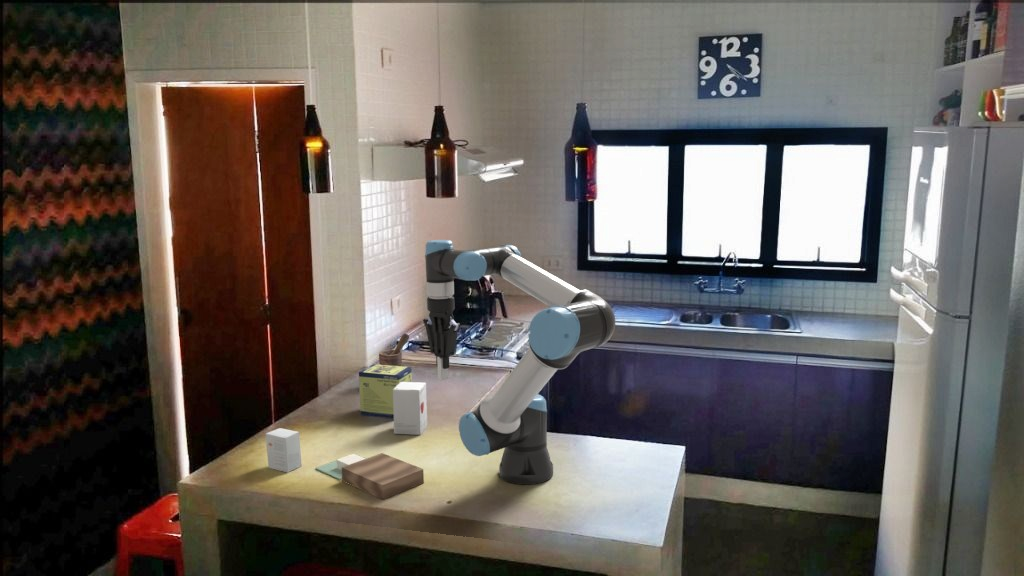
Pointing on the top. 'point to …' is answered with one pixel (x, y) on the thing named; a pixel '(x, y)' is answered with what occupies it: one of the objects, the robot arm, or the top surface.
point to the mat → (332, 469)
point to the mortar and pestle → (393, 353)
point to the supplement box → (410, 408)
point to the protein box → (380, 388)
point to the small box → (283, 450)
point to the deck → (382, 475)
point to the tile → (348, 460)
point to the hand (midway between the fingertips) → (443, 379)
